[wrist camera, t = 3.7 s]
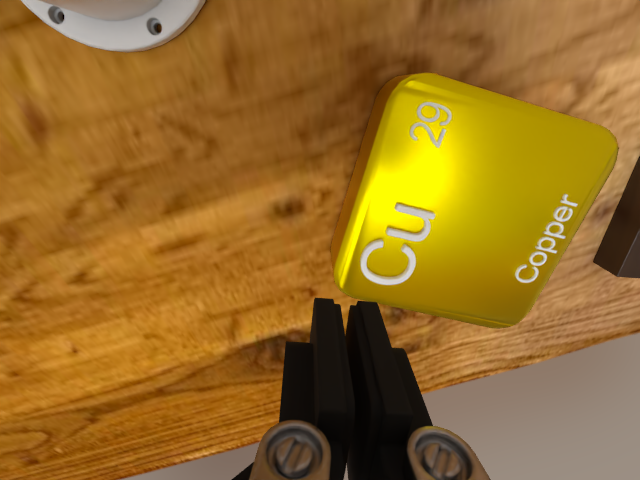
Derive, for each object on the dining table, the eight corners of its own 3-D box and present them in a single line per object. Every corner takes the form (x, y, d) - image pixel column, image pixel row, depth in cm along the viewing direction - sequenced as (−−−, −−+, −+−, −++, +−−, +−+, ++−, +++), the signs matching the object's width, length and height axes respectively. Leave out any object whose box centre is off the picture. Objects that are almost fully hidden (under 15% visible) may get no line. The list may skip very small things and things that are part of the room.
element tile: (491, 303, 31) (522, 340, 26) (323, 265, 29) (326, 297, 24) (584, 127, 25) (643, 136, 21) (384, 66, 23) (401, 60, 19)
